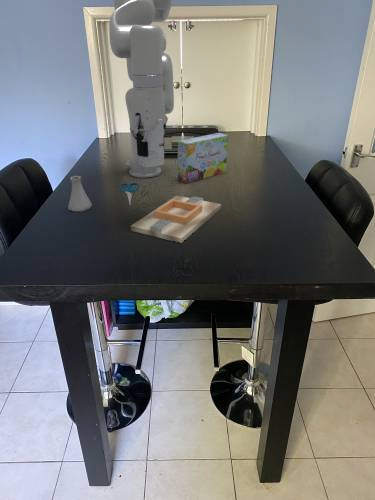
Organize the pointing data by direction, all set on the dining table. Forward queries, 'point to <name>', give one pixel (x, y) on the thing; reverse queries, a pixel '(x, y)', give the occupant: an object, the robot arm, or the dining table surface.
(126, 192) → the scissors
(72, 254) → the dining table surface
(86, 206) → the flask
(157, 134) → the skincare box
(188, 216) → the board
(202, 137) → the snack box
